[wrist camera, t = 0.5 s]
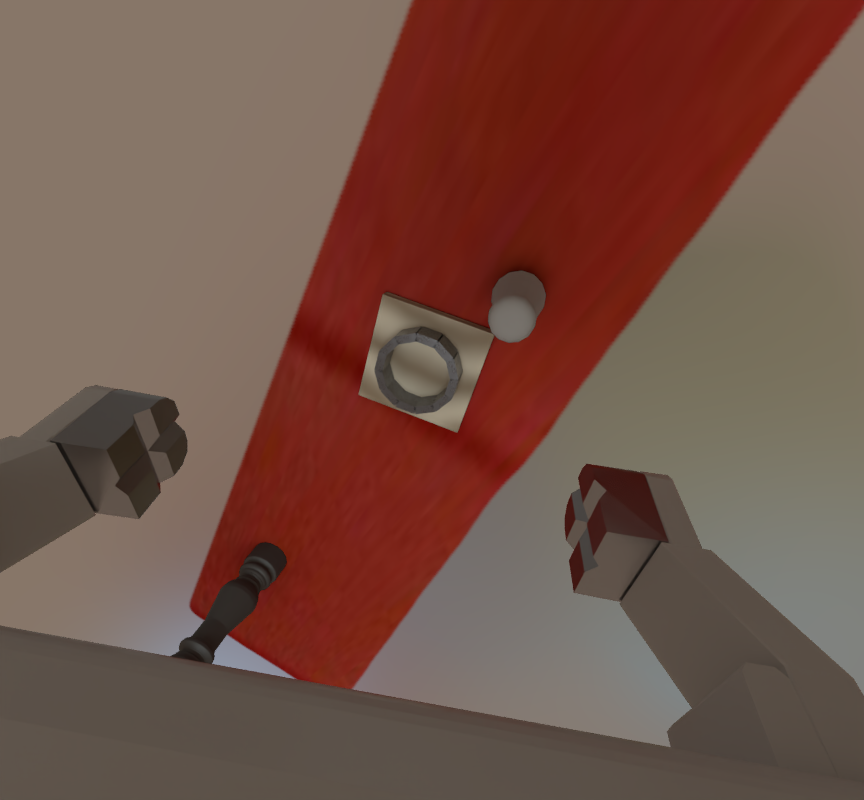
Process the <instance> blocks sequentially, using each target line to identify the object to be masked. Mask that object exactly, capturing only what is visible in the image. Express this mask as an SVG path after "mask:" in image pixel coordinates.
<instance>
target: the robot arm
mask: <svg viewBox="0 0 864 800" xmlns="http://www.w3.org/2000/svg"><path fill="white" fill-rule="evenodd" d="M178 416H179V412H178V409H177V407H176V404H175V402H174V401H173V400H171V399H169V398H166V397H161V396H155V395H150V394H144V393H138V392H133V391H128V390H122V389H113V388H108V387H103V386H98V385H95V386H90V387H85V388H84V389H83V390H81V391H80V392H79V393H77V394H76V395H75V396H73V397H72V398H71V399H69V400H68V401H67V402H65V403H64V404H63V405H61V406H60V407H59V408H57V409H56V410H55V411H53V412H52V413H51V414H49V415H48V416H47V417H45V418H44V419H43V420H41V421H40V422H39V423H38V424H36V425H35V426H33V427H32V428H31V429H29V430H28V431H27V432H26V433H24V434H23V435H21V436H20V437H15V436H9V437H6V438H3V439H0V572H2V571H4V570H6V569H7V568H9V567H11V566H12V565H14V564H15V563H17V562H19V561H20V560H22V559H24V558H25V557H27V556H29V555H30V554H32V553H34V552H35V551H37V550H38V549H40V548H42V547H44V546H45V545H47V544H49V543H50V542H52V541H54V540H55V539H57V538H59V537H60V536H62V535H64V534H65V533H67V532H69V531H70V530H72V529H74V528H75V527H77V526H79V525H80V524H82V523H84V522H85V521H87V520H88V519H90V518H92V517H93V516H95V515H96V514H95V513H99V514H106V515H114V516H121V517H128V518H135V519H139V518H140V517H141V516H142V515H143V514H144V512H145V511H146V510H147V509H148V507H149V506H150V505H151V504H152V502H153V501H154V500H155V499H156V497H157V496H158V495H159V494H160V493H161V492H160V482H163V481H164V480H167V479H169V478H171V477H173V476H174V475H175V474H176V473H177V471H178V470H179V469H180V467H181V466H182V465H183V462H184V459H185V456H186V454H187V438H186V434H185V431H184V430H183V429H182V428H181V427H180V426H179V425H178V424H177V423H176V422H175V420H176V419H177V417H178ZM578 480H579V485H580V489H578V490H577V491H575V492H573V493H572V494H571V496H570V499H569V501H568V504H567V508H566V514H565V535H566V541H567V542H568V543H569V544H570V545H571V547H572V548H573V549H574V551H573V553H572V555H571V558H570V560H569V563H570V570H571V577H572V583H573V590H574V593H578V594H583V595H588V596H593V597H598V598H603V599H609V600H613V601H619V602H621V603H620V605H621V607H622V608H623V610H624V611H625V613H626V614H627V616H628V617H629V618H630V620H631V621H632V623H633V624H634V626H635V627H636V628H637V630H638V631H639V633H640V634H641V636H642V637H643V639H644V640H645V641H646V643H647V644H648V646H649V647H650V649H651V650H652V651H653V653H654V654H655V656H656V657H657V659H658V660H659V661H660V663H661V664H662V666H663V667H664V669H665V670H666V672H667V673H668V674H669V676H670V677H671V679H672V680H673V682H674V683H675V684H676V686H677V687H678V689H679V690H680V692H681V693H682V694H683V696H684V697H685V699H686V700H687V702H688V703H689V705H690V706H691V707H692V709H691V710H689V711H688V712H687V713H686V714H685V715H683V716H682V717H681V718H680V719H679V720H678V721H676V722H675V723H674V724H673V725H672V726H671V727H670V728H669V730H668V731H667V733H668V737H669V741H670V745H671V747H666V746H660V745H655V744H649V743H643V742H638V741H632V740H627V739H622V738H616V737H611V736H605V735H600V734H594V733H589V732H583V731H578V730H572V729H567V728H561V727H555V726H550V725H544V724H539V723H534V722H528V721H523V720H517V719H512V718H506V717H500V716H495V715H489V714H484V713H479V712H472V711H468V710H462V709H456V708H451V707H446V706H440V705H435V704H429V703H423V702H418V701H412V700H407V699H402V698H396V697H391V696H385V695H379V694H374V693H369V692H363V691H357V690H352V689H347V688H341V687H336V686H330V685H325V684H319V683H314V682H308V681H303V680H297V679H292V678H285V677H280V676H275V675H270V674H264V673H258V672H253V671H247V670H242V669H236V668H231V667H225V666H220V665H215V664H209V663H204V662H198V661H193V660H187V659H181V658H176V657H170V656H165V655H159V654H154V653H148V652H143V651H137V650H132V649H126V648H121V647H115V646H109V645H104V644H99V643H93V642H88V641H82V640H77V639H71V638H66V637H60V636H55V635H49V634H43V633H38V632H32V631H27V630H21V629H16V628H10V627H5V626H0V800H864V696H863V694H862V692H861V690H860V689H859V687H858V685H857V683H856V682H855V680H854V679H853V678H852V677H851V676H850V675H849V674H848V673H847V672H846V671H845V670H843V669H842V668H841V667H840V666H839V665H838V664H836V662H835V661H833V660H832V659H831V658H830V657H829V656H828V655H827V654H826V653H825V652H823V651H822V650H821V649H820V648H819V647H818V646H817V645H816V644H815V643H813V642H812V641H811V640H810V639H809V638H808V637H807V636H806V635H804V634H803V633H802V632H801V631H800V630H799V629H798V628H797V627H796V626H795V625H793V624H792V623H791V622H790V621H789V620H788V619H787V618H786V617H785V616H783V615H782V614H781V613H780V612H779V611H778V610H777V609H776V608H774V607H773V606H772V605H771V604H770V603H769V602H768V601H767V600H766V599H765V598H763V597H762V596H761V595H760V594H759V593H758V592H757V591H756V590H755V589H753V588H752V587H751V586H750V585H749V584H748V583H747V582H746V581H745V580H743V579H742V578H741V577H740V576H739V575H738V574H737V573H736V572H735V571H733V570H732V569H731V568H730V567H729V566H728V565H727V564H726V563H725V562H723V561H722V560H721V559H720V558H719V557H718V556H717V555H716V554H715V553H713V552H712V551H711V550H706V549H702V547H701V544H700V542H699V540H698V538H697V535H696V533H695V530H694V528H693V526H692V524H691V521H690V519H689V517H688V514H687V512H686V510H685V507H684V505H683V503H682V501H681V498H680V496H679V494H678V492H677V489H676V487H675V484H674V482H673V480H672V479H671V478H670V477H669V476H668V475H662V474H655V473H648V472H637V471H632V470H624V469H618V468H612V467H604V466H598V465H591V464H586V465H585V466H584V467H583V468H582V470H581V473H580V475H579V477H578Z"/></svg>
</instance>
